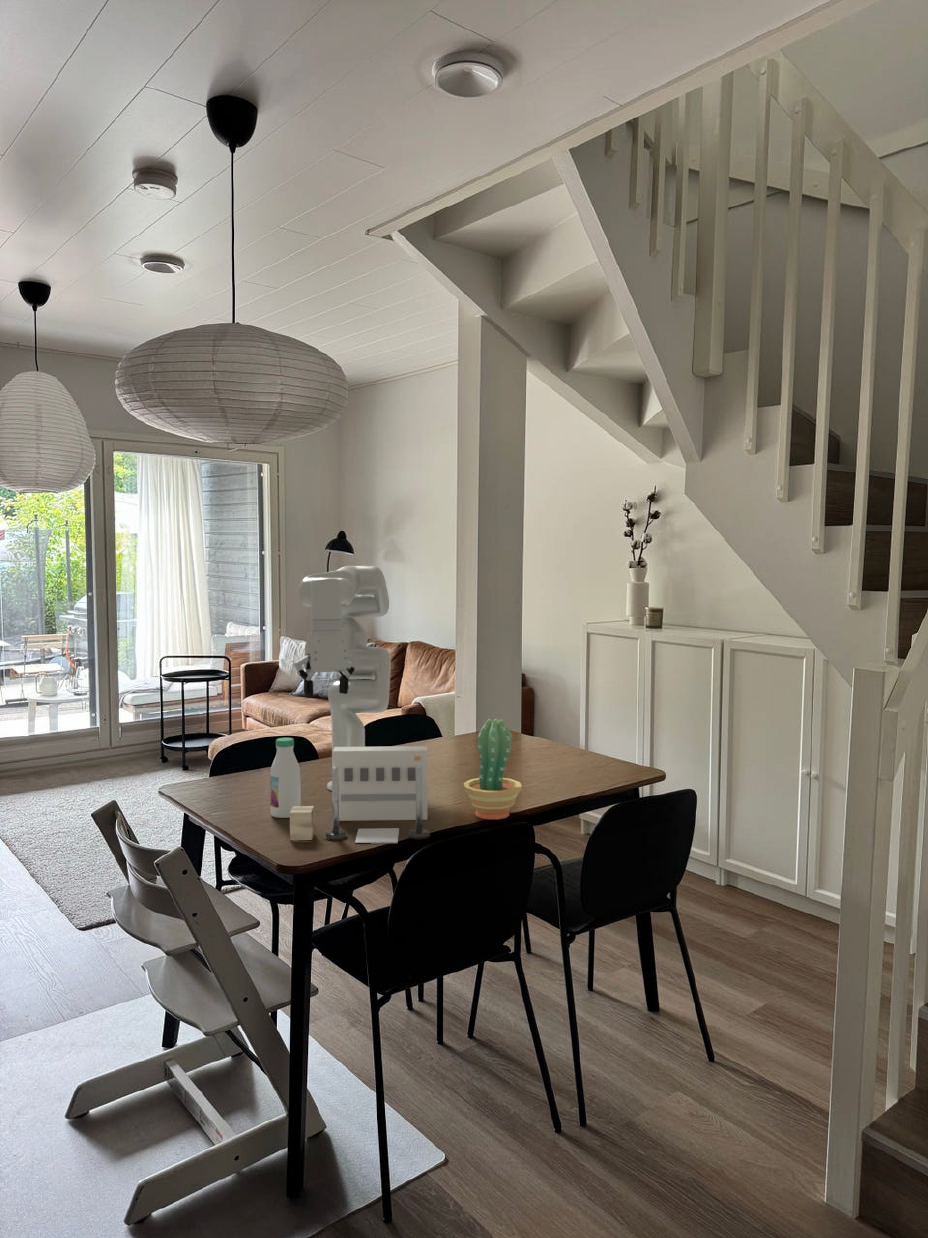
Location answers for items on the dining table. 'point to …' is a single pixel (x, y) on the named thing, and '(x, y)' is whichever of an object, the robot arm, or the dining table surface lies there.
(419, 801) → the post
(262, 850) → the dining table surface
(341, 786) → the switch box
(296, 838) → the birch block
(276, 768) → the milk bottle
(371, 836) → the mat
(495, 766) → the potted cactus
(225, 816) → the dining table surface
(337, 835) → the post
